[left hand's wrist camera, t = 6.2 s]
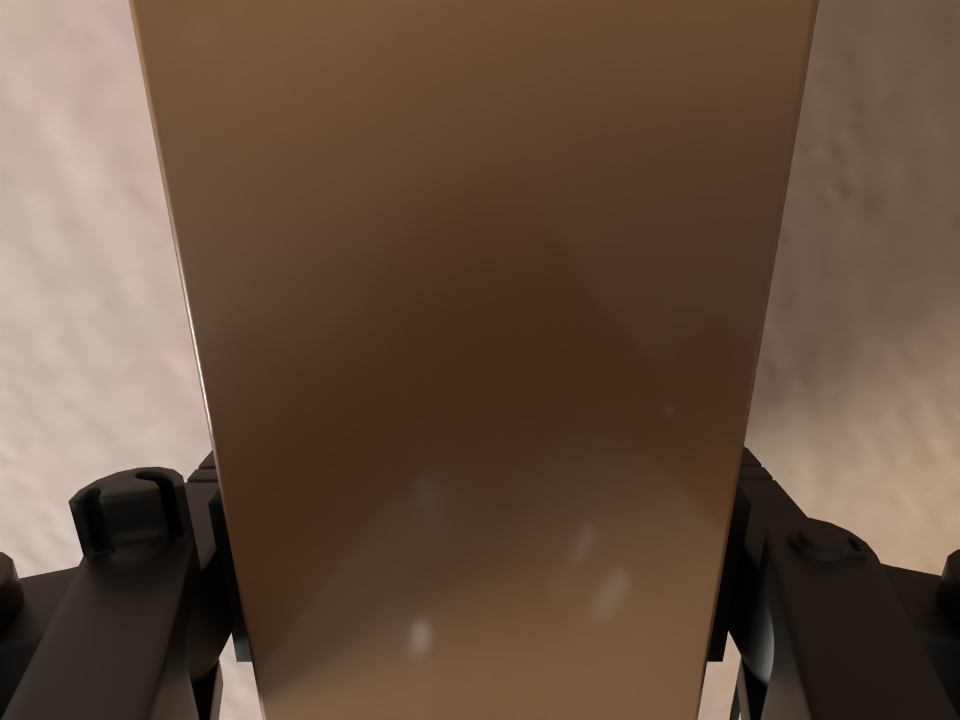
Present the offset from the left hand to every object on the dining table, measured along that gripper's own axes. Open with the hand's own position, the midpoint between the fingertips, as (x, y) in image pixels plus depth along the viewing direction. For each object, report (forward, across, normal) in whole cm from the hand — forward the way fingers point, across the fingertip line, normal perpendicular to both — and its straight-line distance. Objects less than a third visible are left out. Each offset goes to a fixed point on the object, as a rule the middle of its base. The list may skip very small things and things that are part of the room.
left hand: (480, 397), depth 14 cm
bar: (0, 0, -21) cm, 21 cm away
